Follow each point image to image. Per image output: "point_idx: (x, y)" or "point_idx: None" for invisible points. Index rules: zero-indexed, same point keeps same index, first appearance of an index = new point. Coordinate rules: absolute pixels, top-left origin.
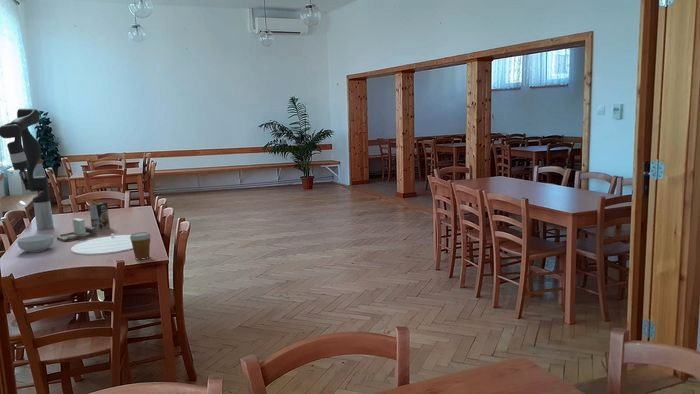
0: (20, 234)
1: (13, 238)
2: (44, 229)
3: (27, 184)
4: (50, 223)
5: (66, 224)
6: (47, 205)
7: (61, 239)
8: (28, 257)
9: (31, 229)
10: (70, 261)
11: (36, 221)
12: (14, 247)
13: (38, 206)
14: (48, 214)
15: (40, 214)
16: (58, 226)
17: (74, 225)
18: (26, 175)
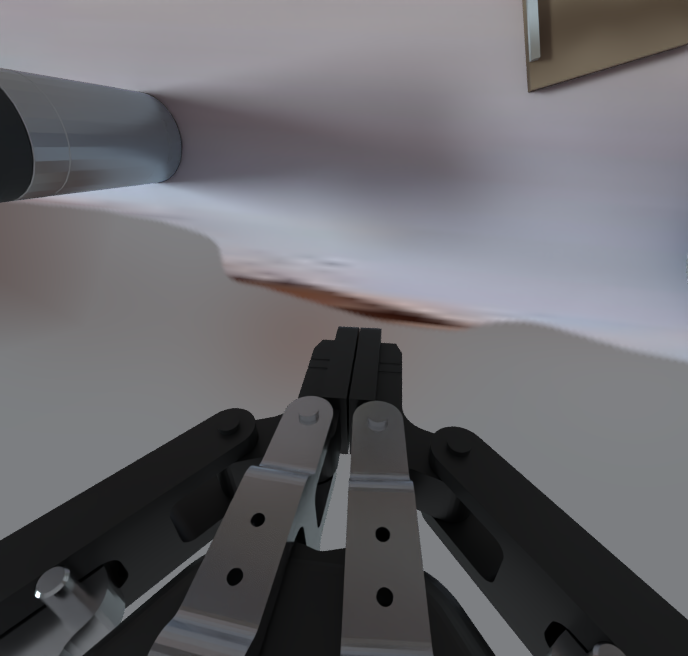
0: (227, 263)
1: (302, 298)
2: (180, 147)
3: (402, 410)
4: (145, 105)
5: (79, 5)
6: (37, 96)
7: (629, 61)
8: None
9: (134, 207)
10: None
11: (130, 185)
12: (535, 321)
13: (61, 168)
14: (102, 105)
15: (112, 160)
16: (118, 61)
17: None
18: (427, 635)
